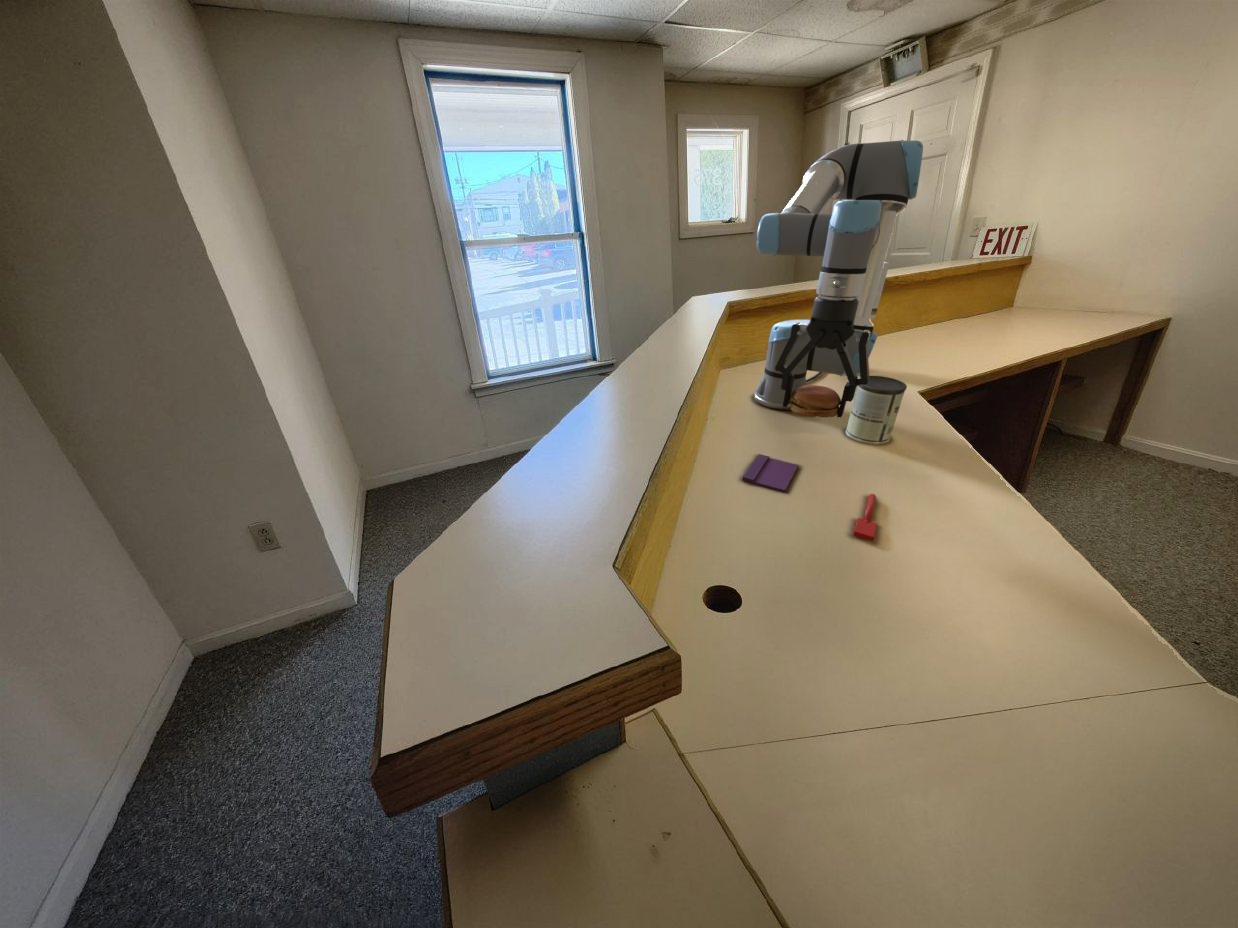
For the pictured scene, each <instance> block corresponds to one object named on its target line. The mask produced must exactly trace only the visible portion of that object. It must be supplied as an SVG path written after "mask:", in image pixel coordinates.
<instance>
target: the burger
mask: <svg viewBox="0 0 1238 928" xmlns="http://www.w3.org/2000/svg"><path fill="white" fill-rule="evenodd" d="M792 394H793V395H791V398H790V399H789V402H790V404H791V406H790V409H791V410H790V411H791V412H792V413H794V414H795V415H798V416H800V417H801V416H802V417H807V418H817V417H818V418H833V417H837V415H838V411H839V407H840V403H841V399H842V398H841V396H840V395H839V393H838V392H836V390H834V389H833V388H830V387H827V386H824V385H817V384H811V385H810V384H807V385H805V386H801V387H799V388H797V389H795V390H794V391H793V392H792Z"/></svg>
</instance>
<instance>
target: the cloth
mask: <svg viewBox="0 0 1238 928" xmlns="http://www.w3.org/2000/svg"><path fill="white" fill-rule="evenodd" d="M798 468H799V464H795V463H791V462H787V461H783V460H778V459H776V458H775V459H774V458H770V456H769V455H764V454H761V453H758V455H756V457H755V459H754V461H752V463H751V464H750V466H749V468H748V469H747V470H746V472H745V473H744V474H743V476H742V481H744V482H746V483H747V482H748V483H750V484H751V483H752V484H755V485H758V486H763V487H766V488H769V489H773V490H777V491H779V492H784V493H785V492H786V491H787V489H788V487H789V485H790V483H791V481H792V479H793V477H794V475H795V473H796V472H797V470H798Z"/></svg>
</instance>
